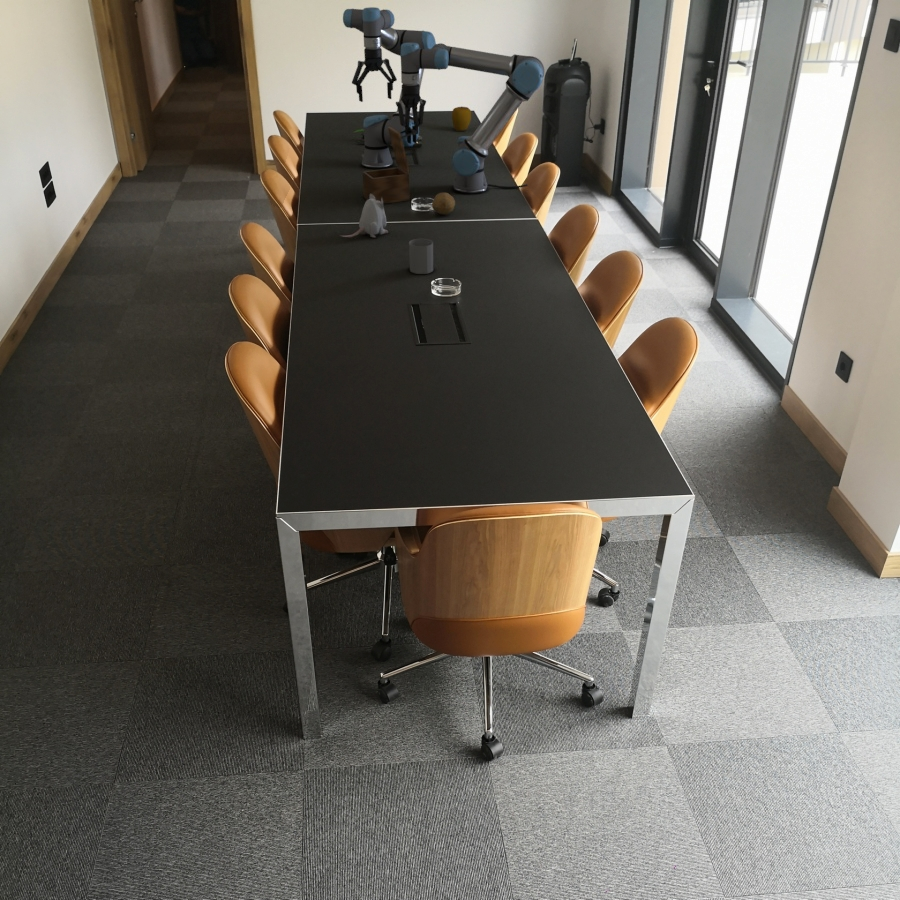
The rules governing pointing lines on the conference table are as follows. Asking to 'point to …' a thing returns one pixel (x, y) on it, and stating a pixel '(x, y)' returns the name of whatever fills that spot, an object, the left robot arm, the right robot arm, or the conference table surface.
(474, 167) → the right robot arm
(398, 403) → the conference table surface
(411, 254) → the cup
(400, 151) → the lid
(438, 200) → the potato
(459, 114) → the yellow bell pepper
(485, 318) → the conference table surface
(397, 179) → the chest
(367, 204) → the toy
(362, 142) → the scepter
